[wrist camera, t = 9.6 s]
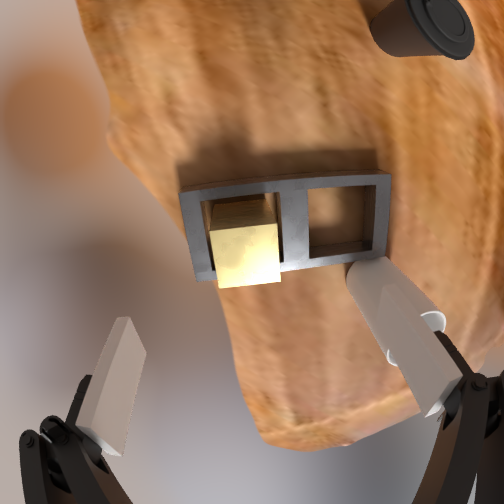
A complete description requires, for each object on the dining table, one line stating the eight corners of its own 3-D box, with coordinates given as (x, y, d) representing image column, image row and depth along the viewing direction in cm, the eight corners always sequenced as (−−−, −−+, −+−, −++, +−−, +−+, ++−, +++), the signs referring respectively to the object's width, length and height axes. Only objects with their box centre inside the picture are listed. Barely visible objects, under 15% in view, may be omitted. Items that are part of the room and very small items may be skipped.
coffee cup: (348, 3, 18) (396, -34, 9) (407, 8, 17) (462, -14, 8) (371, 69, 21) (432, 54, 12) (428, 69, 21) (490, 64, 12)
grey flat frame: (183, 187, 25) (178, 193, 23) (379, 169, 26) (391, 174, 24) (198, 269, 29) (196, 281, 27) (375, 246, 30) (384, 256, 28)
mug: (338, 262, 30) (385, 332, 20) (388, 241, 30) (448, 298, 19) (352, 322, 35) (388, 391, 24) (395, 303, 34) (439, 363, 23)
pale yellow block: (214, 204, 27) (209, 231, 20) (265, 198, 27) (277, 223, 20) (221, 251, 29) (219, 288, 23) (269, 245, 29) (280, 281, 23)
